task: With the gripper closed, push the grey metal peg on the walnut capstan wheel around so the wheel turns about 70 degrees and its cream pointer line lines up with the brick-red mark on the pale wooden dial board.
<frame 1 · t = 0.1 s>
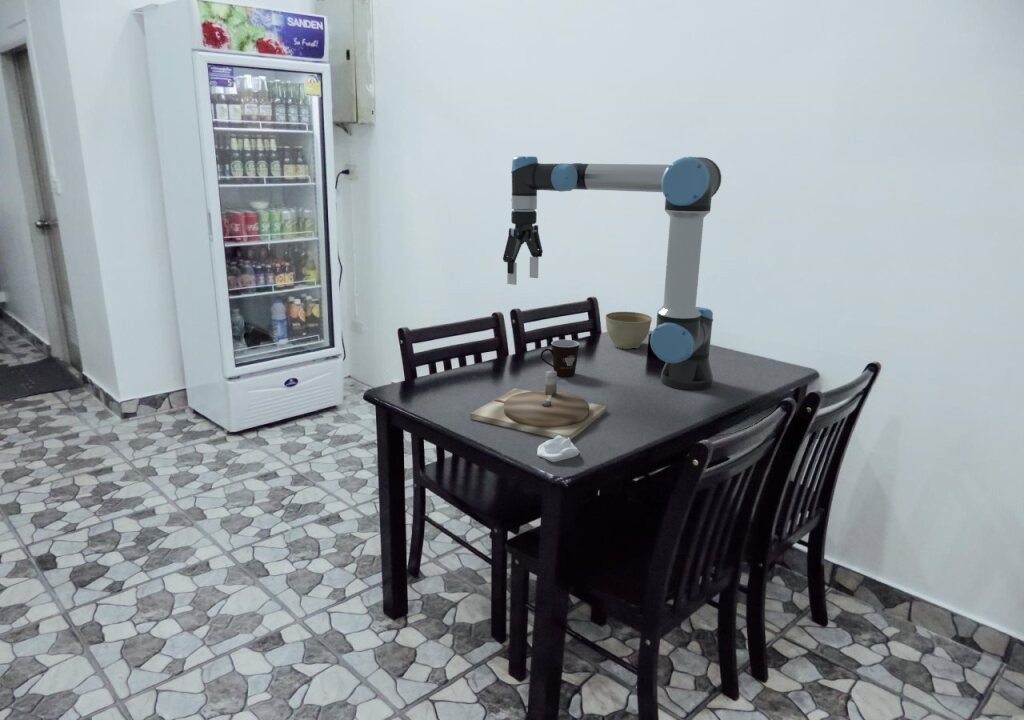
hand: (523, 281, 208), 28 cm above the table, tool pointing down, fingers open, 13 cm apart
crumpled white cloth: (557, 455, 154), on the table
dial board: (546, 416, 176), on the table
capstan wheel: (546, 396, 174), point 5 cm above the table, hinge at -70.0°
planter bowl: (626, 346, 242), on the table
coffee mug: (559, 374, 210), on the table
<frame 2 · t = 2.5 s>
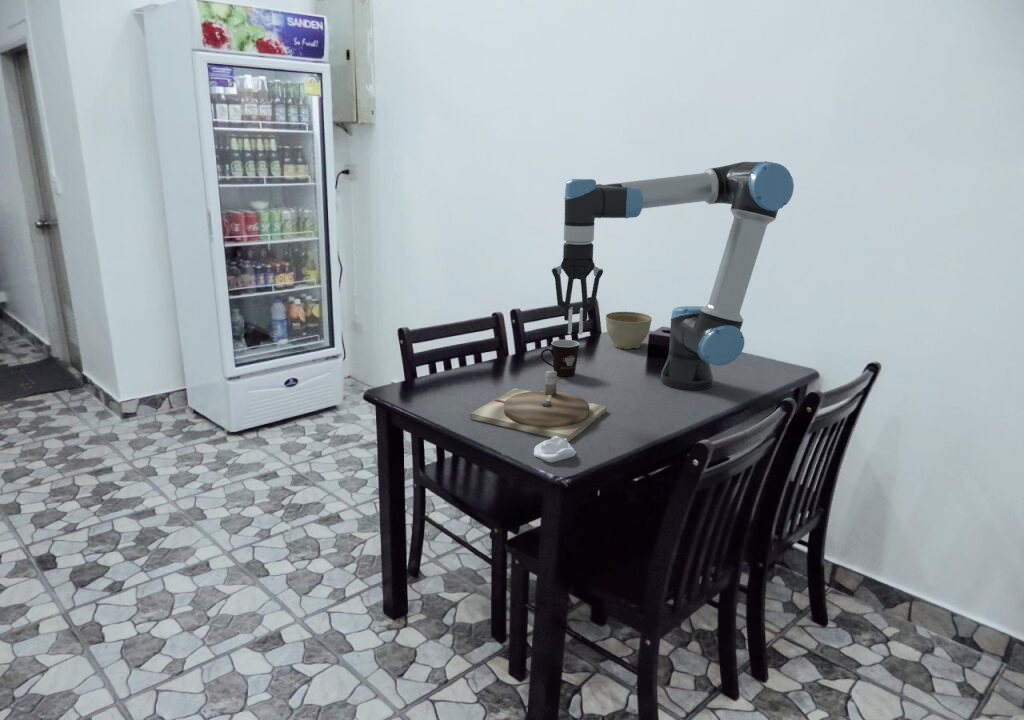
hand: (575, 332, 177), 20 cm above the table, tool pointing down, fingers open, 2 cm apart
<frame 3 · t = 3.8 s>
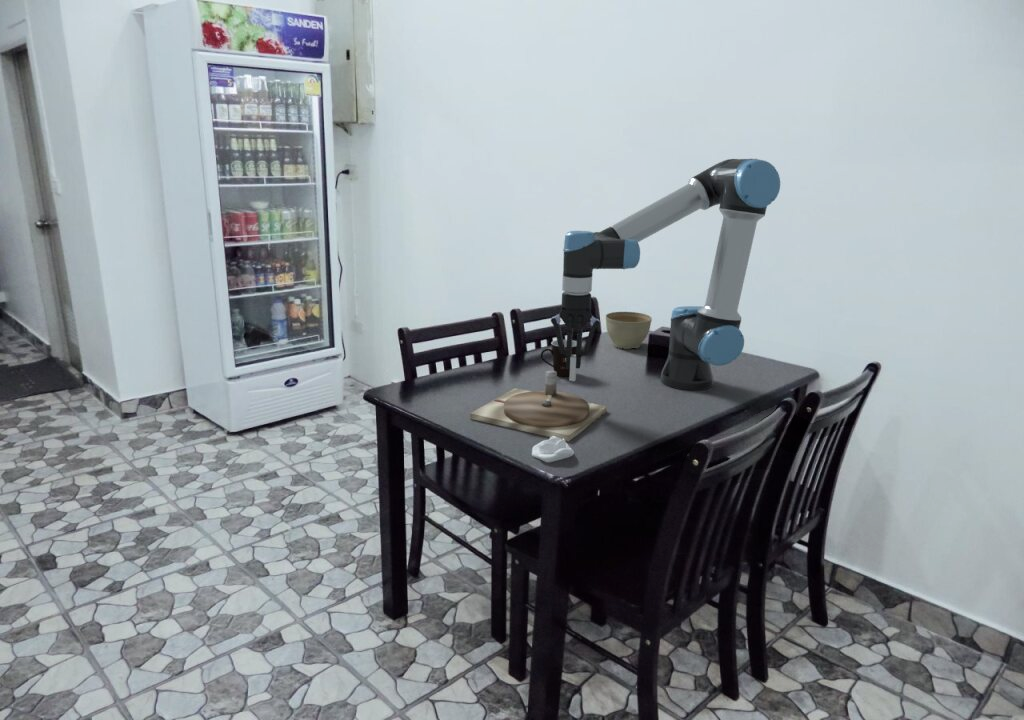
hand: (572, 379, 181), 8 cm above the table, tool pointing down, fingers closed
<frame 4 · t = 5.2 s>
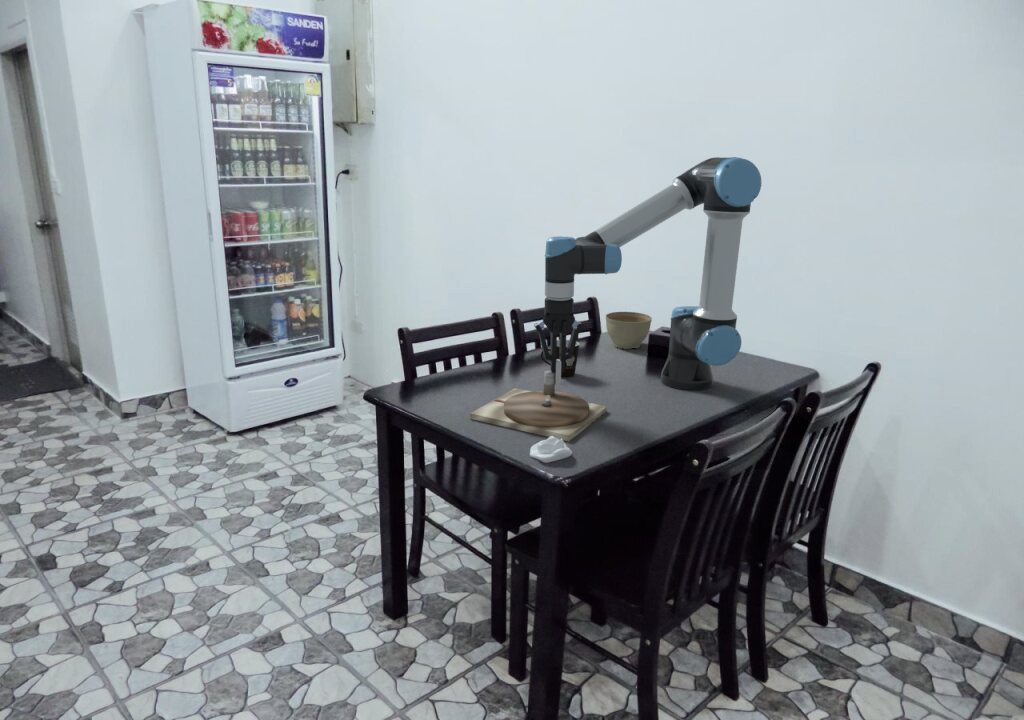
hand: (557, 383, 182), 6 cm above the table, tool pointing down, fingers closed
capstan wheel: (546, 396, 174), point 5 cm above the table, hinge at -66.9°, touching gripper
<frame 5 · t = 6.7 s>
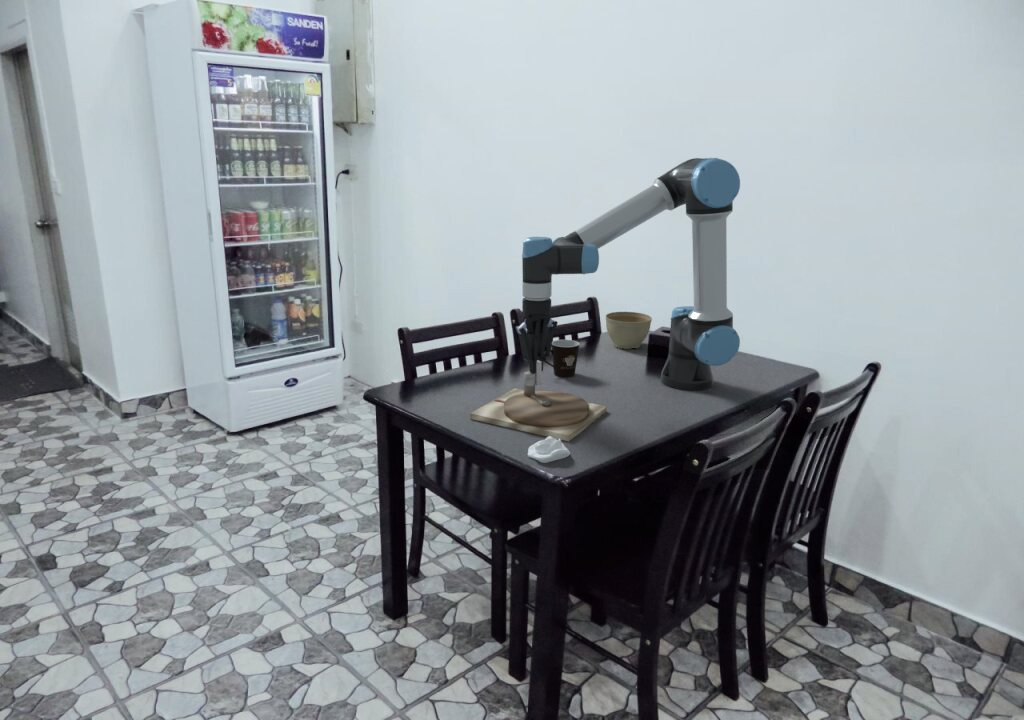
hand: (536, 383, 183), 6 cm above the table, tool pointing down, fingers closed
capstan wheel: (546, 396, 174), point 5 cm above the table, hinge at -31.9°, touching gripper
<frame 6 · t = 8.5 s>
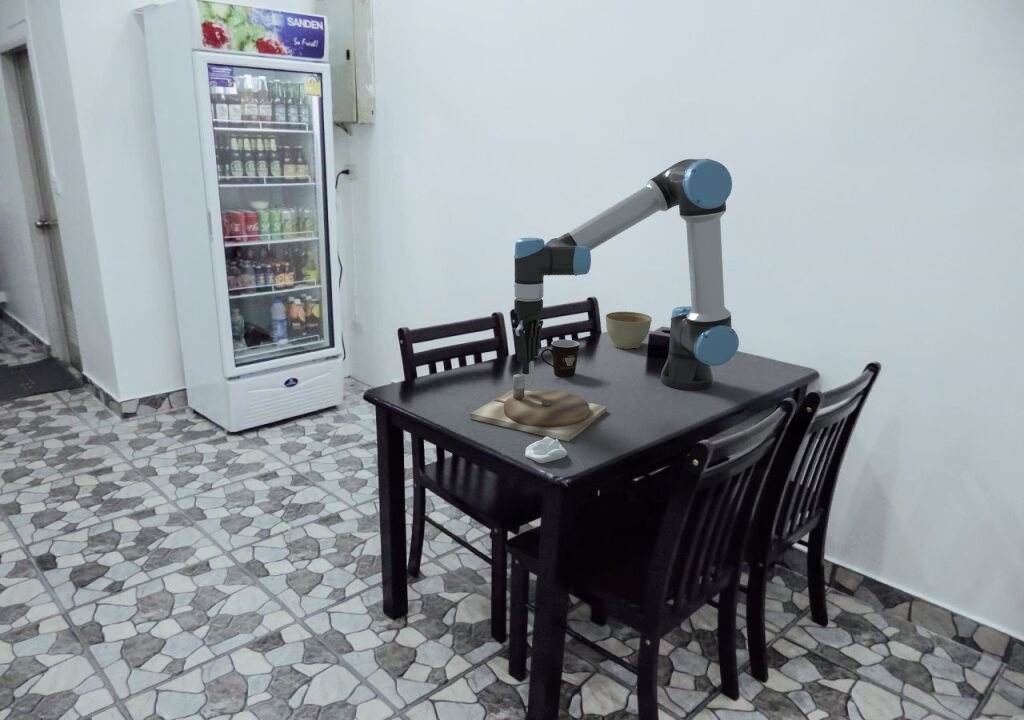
hand: (527, 384, 183), 6 cm above the table, tool pointing down, fingers closed
capstan wheel: (546, 396, 174), point 5 cm above the table, hinge at -7.6°
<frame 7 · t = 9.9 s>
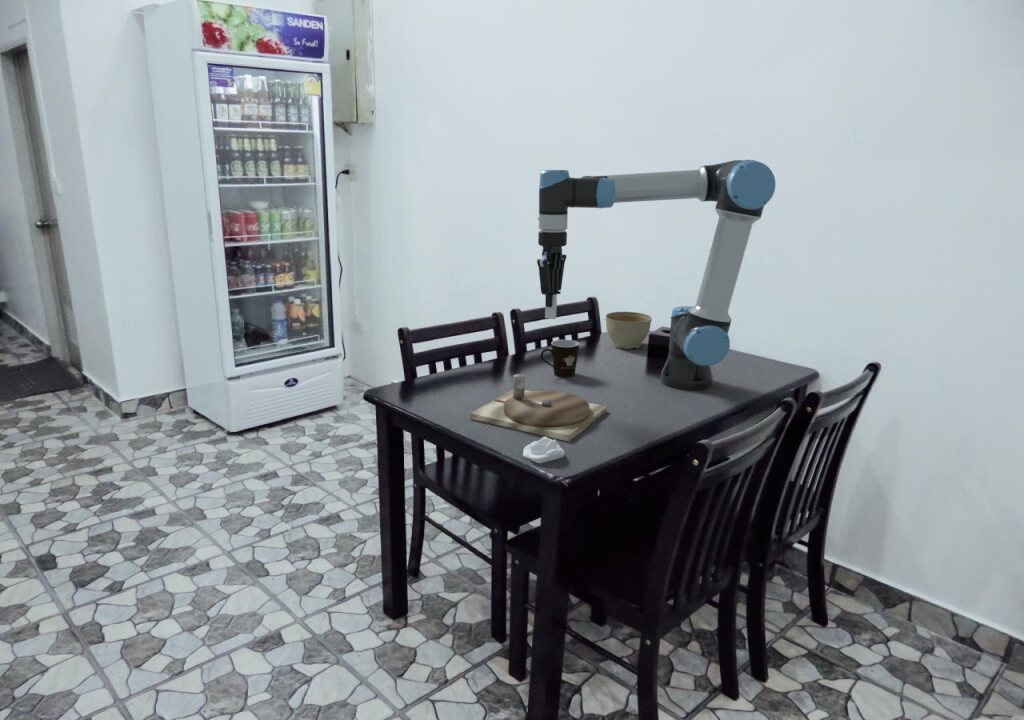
hand: (550, 317, 185), 22 cm above the table, tool pointing down, fingers closed
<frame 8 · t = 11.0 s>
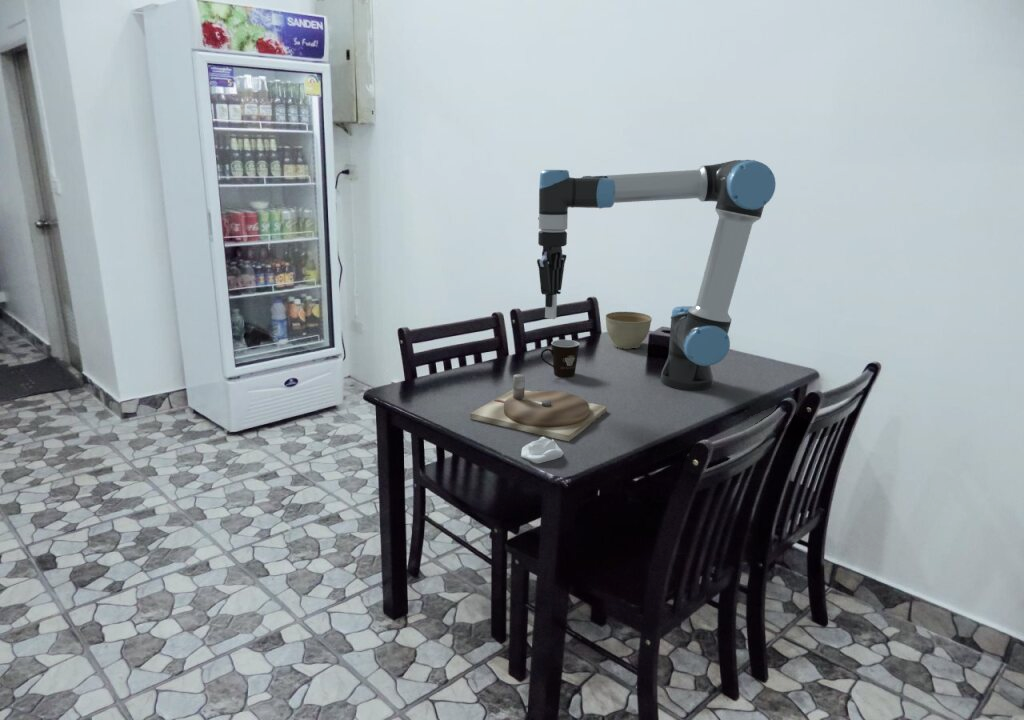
hand: (550, 317, 185), 22 cm above the table, tool pointing down, fingers closed
at the end: capstan wheel at -8° (first picture: -70°) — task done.
